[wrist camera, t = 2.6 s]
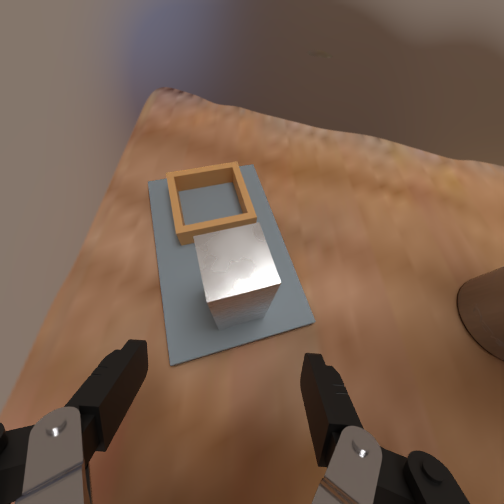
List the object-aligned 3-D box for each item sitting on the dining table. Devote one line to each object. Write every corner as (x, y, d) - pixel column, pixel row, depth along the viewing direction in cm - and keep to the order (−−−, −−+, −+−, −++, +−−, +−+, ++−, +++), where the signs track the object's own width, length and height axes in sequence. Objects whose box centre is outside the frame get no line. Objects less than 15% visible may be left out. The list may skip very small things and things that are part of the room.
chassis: (252, 169, 33) (254, 149, 30) (312, 323, 24) (323, 316, 21) (150, 187, 31) (140, 166, 28) (172, 365, 21) (162, 364, 18)
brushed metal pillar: (251, 275, 25) (259, 222, 16) (264, 317, 23) (281, 282, 14) (209, 286, 24) (193, 236, 15) (219, 330, 22) (206, 302, 13)
